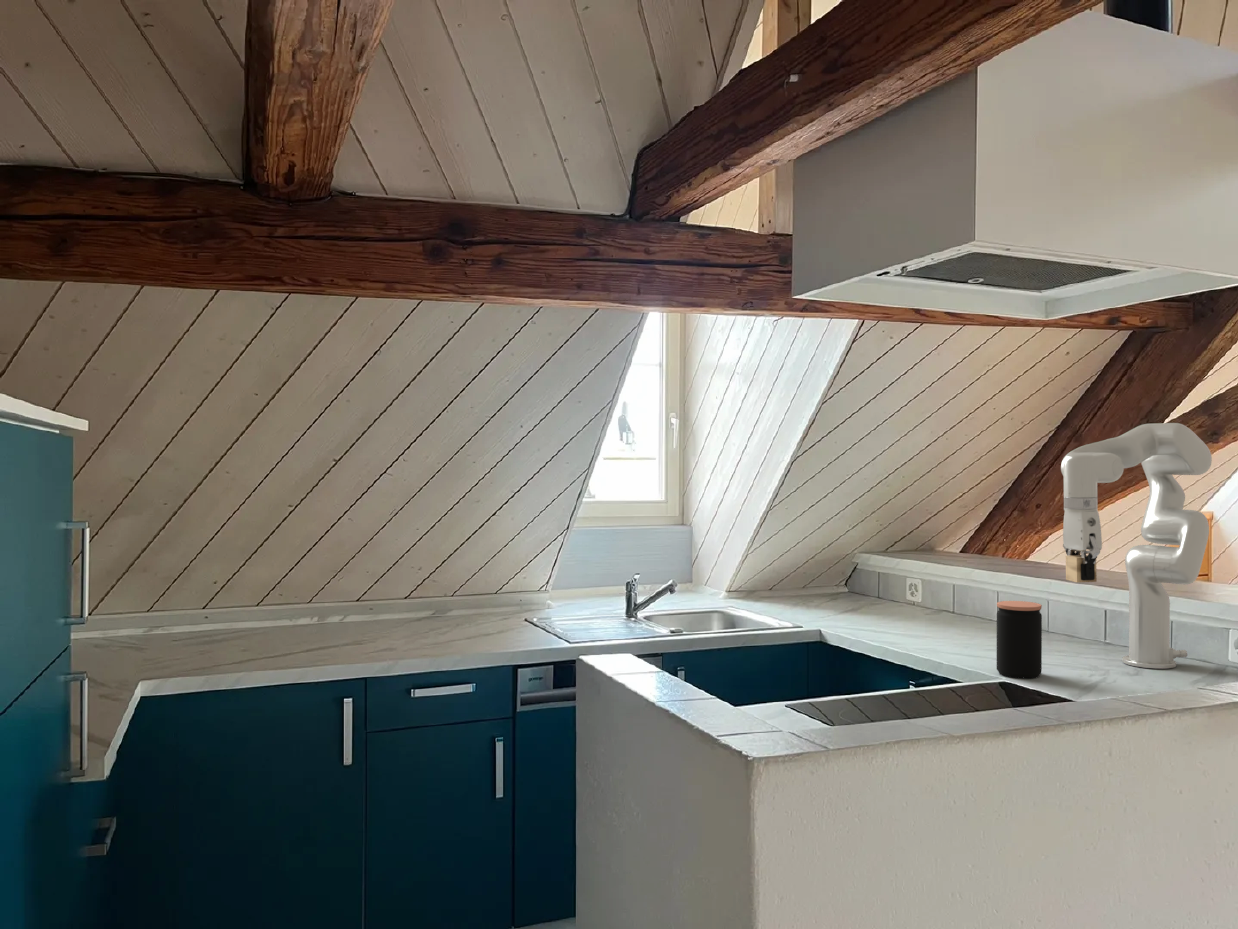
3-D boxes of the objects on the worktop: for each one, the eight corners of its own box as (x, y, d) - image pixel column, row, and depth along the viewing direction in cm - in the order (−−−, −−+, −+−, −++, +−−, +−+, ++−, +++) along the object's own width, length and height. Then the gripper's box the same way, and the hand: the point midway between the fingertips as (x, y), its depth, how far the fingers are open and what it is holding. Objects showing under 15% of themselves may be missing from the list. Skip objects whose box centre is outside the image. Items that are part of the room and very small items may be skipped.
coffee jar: (1030, 669, 259) (1030, 600, 258) (1049, 679, 248) (1049, 607, 248) (989, 670, 258) (989, 600, 258) (1007, 679, 248) (1007, 607, 247)
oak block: (1085, 578, 248) (1084, 554, 248) (1096, 581, 243) (1096, 557, 243) (1065, 579, 247) (1065, 555, 247) (1076, 582, 242) (1076, 557, 242)
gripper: (1115, 506, 236) (1116, 582, 237) (1076, 501, 253) (1077, 573, 254) (1085, 507, 236) (1085, 584, 236) (1047, 502, 253) (1048, 574, 253)
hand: (1081, 577), depth 245 cm, fingers closed on oak block, 5 cm apart
